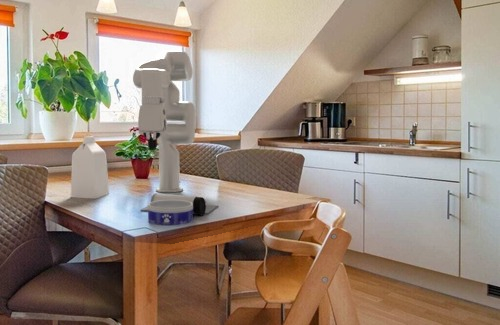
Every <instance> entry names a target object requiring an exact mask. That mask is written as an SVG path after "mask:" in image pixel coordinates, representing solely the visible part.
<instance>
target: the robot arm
mask: <svg viewBox="0 0 500 325" xmlns="http://www.w3.org/2000/svg"><path fill="white" fill-rule="evenodd" d="M192 77H193V66H192V63H191V59H190V57H189V55H188V53H187V52H186V51H185V50H162V51H160V52H158V54H157V55H156V56H155V58H154V59H151V60H150V61H149V60H148V61H146V62H143V63H140V64H139V65H137V66H136V68H135V70H134V71H133V74H132V82H133V85H134V86H135V87H136V88H137V89H141V105H140V106H139V111H138V123H137V124H138V125H137V126H138V135H139V134H140V135H142V136H144V137H145V138H146V140H147V148H148V150H149V151H155V150H157V147H158V167H159V168H158V175H159V176H158V178H159V179H158V180H159V181H158V182H159V183H158V184H159V185H158V187H156V188H155V191H156V192H157V193H158V192H159V193H179V192H180V193H181V192H182V191H183V190H184V187H182V186H180V185H181V180H180V179H181V178H180V176H181V175H180V174H181V173H180V168H181V167H180V164H181V163H180V151H179V150H178V148H177V147H176V146H175V145H191V144H193V143H194V141H195V136H196V135H195V134H196V109H195V105H194V103H193V102H192V101H188V100H187V101H185V100H183V101H182V100H180V97H181V96H180V89H179V88H178V87H177V85H176V84H175V83H174V82H187V81H190V80H191V79H192ZM168 122H182V123H168ZM183 122H184V123H183ZM152 133H153V134H152Z"/></svg>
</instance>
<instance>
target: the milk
mask: <svg viewBox="0 0 500 325" xmlns="http://www.w3.org/2000/svg"><path fill="white" fill-rule="evenodd" d="M107 160H108V159H107V153H106V151H105V150H104V149H103V148H102V147H101V146H100V144H98V143H96V138H95V136H92V135H91V136H84V137H83V141H82V143H81V144H80V145H79V147H77V149H75V150H74V151H73V152H72V155H71V175H70V176H71V182H70V183H71V184H70V185H71V186H70V188H71V189H70V197H71V198H80V199H81V198H82V199H98V198H101V197H105V196H107V195H109V194H110V188H109V187H110V186H109V175H108V163H107V162H108V161H107Z"/></svg>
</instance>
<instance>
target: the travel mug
mask: <svg viewBox="0 0 500 325" xmlns="http://www.w3.org/2000/svg"><path fill="white" fill-rule="evenodd" d="M159 200H184V201H189V202H192V203H193V215H200V216H205V214H204V213H205V210H206V205H207V203H206V199H205V198H204V197H201V196H193V195H181V194H170V193H160V192H159V193H158V192H155V193H153V194H152V196H151V199H150V202H153V201H159Z"/></svg>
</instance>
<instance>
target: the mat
mask: <svg viewBox="0 0 500 325" xmlns="http://www.w3.org/2000/svg"><path fill="white" fill-rule="evenodd" d="M217 208H219V205H217V204H216V205H215V204H206V210H205V213H204V216H205V215H209V214H211V213H212V212H213V211H215V210H216V209H217ZM140 212H148V205H147V206H145V207H143V208H141V209H140Z"/></svg>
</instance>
